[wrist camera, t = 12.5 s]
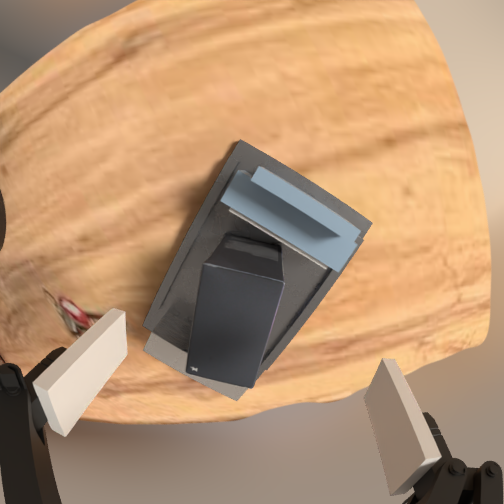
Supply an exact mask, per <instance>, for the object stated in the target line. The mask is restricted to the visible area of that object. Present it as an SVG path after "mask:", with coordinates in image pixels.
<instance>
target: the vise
mask: <svg viewBox="0 0 504 504" xmlns="http://www.w3.org/2000/svg"><path fill="white" fill-rule="evenodd" d="M259 166H260V167H263V168H265V169H267V170H269V171H270V172H272V173H274V174H275V175H277V176H279V177H280V178H282V179H284V180H285V181H287V182H289V183H290V184H292V185H294V186H295V187H297V188H298V189H300V190H302V191H303V192H305V193H306V194H308V195H310V196H311V197H313V198H314V199H316V200H317V201H319V202H320V203H322V204H324V205H325V206H327V207H328V208H330V209H331V210H333V211H334V212H336V213H337V214H339V215H340V216H342V217H343V218H344V219H346V220H347V221H348V222H350V223H351V224H352V225H354V226H355V227H356V228H358V229H359V230H360V231H361V232H360V234H359V235H358V237H357V238H356V240H355V241H354V242H355V243H356V244H357V247H356V248H355V250H354V251H353V253H352V254H351V255H350V257H349V258H348V260H347V261H346V263H345V264H344V266H343V267H342V269H341V270H340V271H339V273H338V272H337V271H335V270H333V269H332V268H330V267H329V266H328V267H327V269H324V268H323V267H321V266H320V265H318V264H316V263H315V262H313V261H311V260H310V259H308V258H307V257H305V256H303V255H302V254H300V253H298V252H297V251H295V250H294V249H292V248H290V247H289V246H287V245H285V244H284V243H282V242H280V241H279V240H277V239H275V238H274V237H272V236H270V235H269V234H267V233H265V232H264V231H262V230H260V229H259V228H257V227H255V226H254V225H252V224H250V223H249V222H247V221H245V220H244V219H242V218H240V217H239V216H237V215H235V214H234V213H232V212H230V211H229V209H230V208H231V207H230V206H228V205H226V204H225V203H223V202H221V199H222V197H223V195H224V194H225V192H226V190H227V188H228V187H229V185H230V183H231V181H232V180H233V178H234V176H235V175H236V173H237V171H238V170H245V171H247V172H248V173H250V174H252V175H254V174H255V172H256V170H257V169H258V167H259ZM371 225H372V222H371V221H369V220H368V219H366V218H365V217H364V216H362V215H361V214H359V213H358V212H357V211H355V210H354V209H352V208H351V207H349V206H348V205H346V204H345V203H343V202H342V201H340V200H339V199H337V198H336V197H334V196H333V195H331V194H330V193H328V192H327V191H325V190H324V189H322V188H321V187H319V186H318V185H316V184H315V183H313V182H311V181H310V180H308V179H307V178H305V177H304V176H302V175H300V174H299V173H297V172H295V171H294V170H292V169H291V168H289V167H287V166H286V165H284V164H282V163H281V162H279V161H277V160H276V159H274V158H272V157H270V156H269V155H267V154H265V153H264V152H262V151H260V150H258V149H257V148H255V147H253V146H251V145H250V144H248V143H246V142H244V141H242V140H241V139H240V141H239V142H238V144H237V146H236V147H235V149H234V151H233V152H232V154H231V156H230V157H229V158H228V160H227V162H226V164H225V165H224V167H223V169H222V171H221V172H220V174H219V176H218V178H217V179H216V181H215V183H214V185H213V186H212V188H211V190H210V192H209V194H208V195H207V197H206V199H205V201H204V203H203V204H202V206H201V208H200V210H199V212H198V214H197V215H196V217H195V219H194V221H193V223H192V225H191V227H190V229H189V231H188V232H187V234H186V236H185V238H184V240H183V242H182V244H181V246H180V248H179V250H178V252H177V254H176V256H175V258H174V260H173V262H172V264H171V266H170V268H169V270H168V272H167V274H166V276H165V278H164V280H163V282H162V284H161V286H160V288H159V290H158V293H157V295H156V297H155V299H154V301H153V303H152V305H151V308H150V310H149V312H148V315H147V317H146V319H145V321H144V323H143V327H145V328H147V329H148V330H150V331H151V334H150V337H149V339H148V341H147V343H146V345H145V347H144V349H143V351H145V352H146V353H148V354H150V355H151V356H153V357H155V358H156V359H158V360H160V361H161V362H163V363H165V364H166V365H168V366H170V367H172V368H173V369H175V370H177V371H179V372H181V373H182V374H184V375H186V376H188V377H190V378H192V379H193V380H195V381H197V382H199V383H201V384H203V385H205V386H207V387H209V388H211V389H213V390H215V391H217V392H219V393H221V394H223V395H225V396H227V397H229V398H231V399H233V400H236V401H237V400H238V399H239V398H240V397H241V396H242V395H243V394H244V393H245V391H246V390H247V389H248V388H246V387H240V386H236V385H231V384H227V383H222V382H218V381H214V380H210V379H206V378H202V377H198V376H195V375H190V374H187V373H186V372H185V369H186V362H187V354H188V348H189V341H190V334H191V327H192V320H193V314H194V308H195V302H196V297H197V290H198V285H199V279H200V273H201V268H202V264H203V262H204V261H205V260H206V259H207V258H208V257H209V256H210V255H211V253H212V252H213V251H214V249H215V248H216V247H217V245H218V244H219V243H220V241H221V240H222V238H223V236H224V234H226V233H228V234H232V235H237V236H241V237H245V238H249V239H253V240H257V241H261V242H265V243H269V244H273V245H277V246H280V247H281V248H282V259H283V272H284V282H285V285H284V289H283V293H282V296H281V300H280V303H279V306H278V310H277V313H276V316H275V320H274V323H273V326H272V330H271V333H270V336H269V340H268V343H267V346H266V349H265V352H264V356H263V359H262V362H261V365H260V368H259V372H258V375H257V378H256V380H257V379H258V378H259V377H260V375H261V374H262V373H263V372H264V371H265V370H267V369H268V368H269V367H270V366H271V365H272V363H273V362H274V361H275V360H276V359H277V357H278V356H279V355H280V354H281V352H282V351H283V350H284V349H285V348H286V346H287V345H288V344H289V343H290V341H291V340H292V339H293V337H294V336H295V335H296V334H297V332H298V331H299V330H300V329H301V327H302V326H303V325H304V323H305V322H306V321H307V319H308V318H309V317H310V316H311V314H312V313H313V312H314V310H315V309H316V308H317V306H318V305H319V304H320V302H321V301H322V299H323V298H324V297H325V295H326V294H327V293H328V291H329V290H330V288H331V287H332V286H333V284H334V283H335V282H336V280H337V279H338V277H339V276H340V274H341V273H342V272H343V270H344V269H345V267H346V266H347V264H348V263H349V261H350V260H351V259H352V257H353V256H354V254H355V253H356V251H357V250H358V248H359V247H360V245H361V244H362V242H363V241H364V240H363V237H364V236H365V234H366V233H367V231H368V230H369V228H370V227H371Z"/></svg>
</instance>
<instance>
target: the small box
mask: <svg viewBox="0 0 504 504" xmlns="http://www.w3.org/2000/svg"><path fill="white" fill-rule="evenodd" d="M284 285H285V282H284V272H283V259H282V248H281V247H280V246H277V245H273V244H269V243H265V242H261V241H257V240H253V239H249V238H245V237H241V236H237V235H232V234H228V233H226V234H224V236H223V238H222V240H221V241H220V243H219V244H218V245H217V247H216V248H215V249H214V251H213V252H212V253H211V255H210V256H209V257H208V258H207V259H206V260H205V261H204V262H203V264H202V268H201V273H200V279H199V285H198V290H197V297H196V302H195V308H194V314H193V320H192V327H191V334H190V341H189V348H188V354H187V362H186V369H185V372H186V373H187V374H190V375H195V376H198V377H202V378H206V379H210V380H214V381H218V382H222V383H227V384H231V385H236V386H240V387H246V388H250V389H252V388H253V387H254V384H255V381H256V378H257V375H258V372H259V368H260V365H261V362H262V359H263V356H264V352H265V349H266V346H267V343H268V340H269V336H270V333H271V330H272V326H273V323H274V320H275V316H276V313H277V310H278V306H279V303H280V300H281V296H282V293H283V289H284Z"/></svg>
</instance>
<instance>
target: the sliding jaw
mask: <svg viewBox="0 0 504 504" xmlns="http://www.w3.org/2000/svg"><path fill="white" fill-rule="evenodd" d="M221 202H223V203H225V204H226V205H228V206H230V207H231V208H230V209H229V211H230V212H232V213H234V214H235V215H237V216H239V217H240V218H242V219H244V220H245V221H247V222H249V223H250V224H252V225H254V226H255V227H257V228H259V229H260V230H262V231H264V232H265V233H267V234H269V235H270V236H272V237H274V238H275V239H277V240H279V241H280V242H282V243H284V244H285V245H287V246H289V247H290V248H292V249H294V250H295V251H297V252H298V253H300V254H302V255H303V256H305V257H307V258H308V259H310V260H311V261H313V262H315V263H316V264H318V265H320V266H321V267H323V268H324V269H327V267H328V266H329V267H330V268H332V269H333V270H335V271H337V272H338V273H339V271H340V270H341V269H342V267H343V266H344V264H345V263H346V261H347V260H348V258H349V257H350V255H351V254H352V253H353V251H354V250H355V248H356V247H357V244H356V243H355V242H354V241H355V240H356V238H357V237H358V235H359V234H360V232H361V231H360V230H359V229H358V228H356V227H355V226H354V225H352V224H351V223H350V222H348V221H347V220H346V219H344V218H343V217H342V216H340V215H339V214H337V213H336V212H334V211H333V210H331V209H330V208H328V207H327V206H325V205H324V204H322V203H320V202H319V201H317V200H316V199H314V198H313V197H311V196H310V195H308V194H306V193H305V192H303V191H302V190H300V189H298V188H297V187H295V186H294V185H292V184H290V183H289V182H287V181H285V180H284V179H282V178H280V177H279V176H277V175H275V174H274V173H272V172H270V171H269V170H267V169H265V168H263V167H260V166H259V167H258V169H257V170H256V172H255V174H254V175H252V174H250V173H248V172H247V171H245V170H238V171H237V173H236V175H235V176H234V178H233V180H232V181H231V183H230V185H229V187H228V188H227V190H226V192H225V194H224V195H223V197H222V199H221Z"/></svg>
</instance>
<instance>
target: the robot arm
mask: <svg viewBox="0 0 504 504" xmlns="http://www.w3.org/2000/svg"><path fill="white" fill-rule="evenodd" d="M5 229H6V218H5V208H4V202H3V197H2V194H1V191H0V250H1V248H2V246H3V243H4V238H5ZM126 356H127V339H126V320H125V311H122V310H118V309H115V308H112V309H111V310H110V311H108V312H107V313H106V314H105V315H104V316H103V317H102V318H101V319H99V320H98V321H97V322H96V323H95V324H94V325H93V326H92V327H91V328H90V329H88V330H87V331H86V332H85V333H84V334H83V335H82V336H81V337H80V338H79V339H78V340H76V341H75V342H74V343H73V344H72V345H71V346H70V347H69V348H68V349H66V348H64V347H60V348H58V349H55V350H53V351H52V352H51V353H49V354H48V355H47V356H46V358H44V359H43V360H42V361H41V362H40V363H38V364H37V365H36V366H35V367H34V368H33V369H32V370H31V371H30V372H29V373H28V374H27V375H26V376H25V377H23V374H22V372H21V369H20V368H19V367H18V366H17V365H15V364H12V363H5V364H2V365H0V467H1V476H2V484H3V491H4V497H5V503H6V504H62V503H61V499H60V496H59V493H58V489H57V485H56V481H55V478H54V473H53V469H52V464H51V459H50V454H49V449H48V444H47V438H46V432H45V428H44V425H45V423H46V422H47V421H48V423H49V425H50V427H51V429H52V430H54V431H56V432H57V433H59V434H61V435H63V436H65V437H66V436H67V434H68V433H69V432H70V430H71V429H72V427H73V426H74V425H75V423H76V422H77V421H78V419H79V418H80V416H81V415H82V414H83V412H84V411H85V410H86V408H87V407H88V406H89V404H90V403H91V402H92V400H93V399H94V398H95V396H96V395H97V394H98V392H99V391H100V390H101V388H102V387H103V386H104V384H105V383H106V382H107V380H108V379H109V378H110V376H111V375H112V374H113V373H114V371H115V370H116V369H117V367H118V366H119V365H120V363H121V362H122V361H123V360H124V358H125V357H126ZM364 400H365V403H366V407H367V410H368V414H369V417H370V420H371V424H372V427H373V431H374V434H375V438H376V442H377V445H378V449H379V453H380V456H381V460H382V464H383V468H384V472H385V476H386V480H387V484H388V488H389V492H390V496H392V495H399V494H405V493H406V492H408V491H409V489H411V488H412V487H413V488H414V491H415V492H414V493H413V494H412V495H411V496H410V497H409V498H408V499H406V500H405V501H404V502H403V503H402V504H406V503H407V504H503V478H502V470H501V467H500V466H499V465H498V464H497V463H496V462H494V461H487V462H485V463H484V464H483V465H482V466H481V467H480V468H467V466H466V465H465V463H464V462H463V461H461V460H460V459H457V458H452V456H451V454H450V451H449V449H448V447H447V445H446V443H445V440H444V438H443V436H442V435H441V432H440V430H439V429H438V426H437V424H436V422H435V420H434V419H433V418H432V417H431V415H429V413H426V412H425V413H422V412H421V410H420V408H419V406H418V404H417V402H416V399H415V397H414V396H413V394H412V391H411V389H410V387H409V385H408V384H407V381H406V380H405V378H404V376H403V374H402V372H401V370H400V368H399V366H398V364H397V362H396V360H395V359H385V358H382V360H381V362H380V365H379V367H378V369H377V371H376V373H375V375H374V378H373V380H372V382H371V384H370V386H369V388H368V390H367V392H366V394H365V396H364Z"/></svg>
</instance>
